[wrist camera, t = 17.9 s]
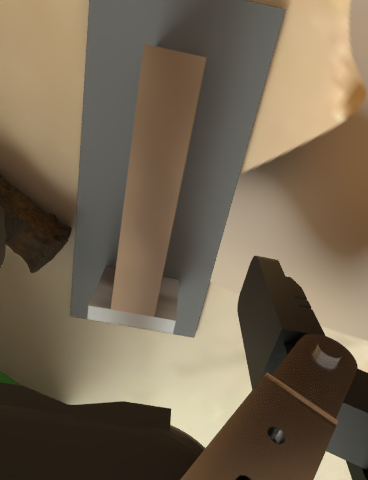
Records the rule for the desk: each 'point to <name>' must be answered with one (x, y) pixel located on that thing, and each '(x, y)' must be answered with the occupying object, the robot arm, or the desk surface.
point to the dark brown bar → (30, 229)
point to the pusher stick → (151, 194)
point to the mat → (201, 141)
